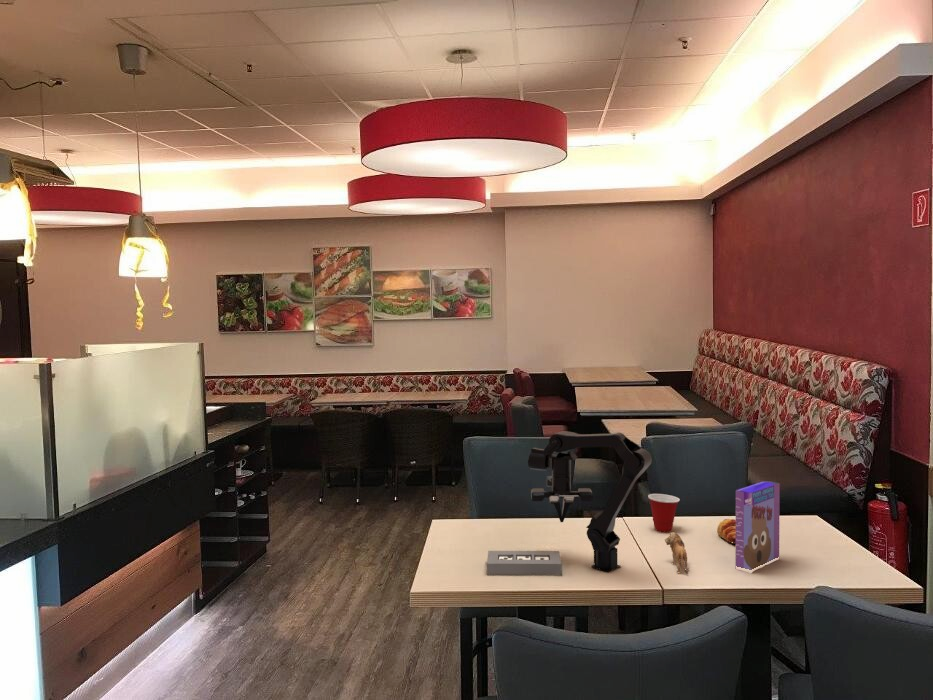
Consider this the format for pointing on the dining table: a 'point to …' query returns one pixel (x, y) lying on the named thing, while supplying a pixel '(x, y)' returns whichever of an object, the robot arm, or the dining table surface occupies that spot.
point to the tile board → (524, 563)
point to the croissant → (727, 530)
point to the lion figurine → (677, 551)
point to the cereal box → (757, 524)
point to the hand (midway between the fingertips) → (561, 521)
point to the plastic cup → (663, 511)
